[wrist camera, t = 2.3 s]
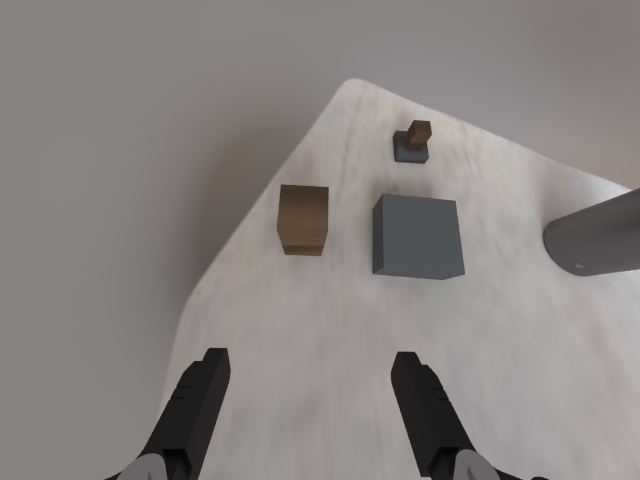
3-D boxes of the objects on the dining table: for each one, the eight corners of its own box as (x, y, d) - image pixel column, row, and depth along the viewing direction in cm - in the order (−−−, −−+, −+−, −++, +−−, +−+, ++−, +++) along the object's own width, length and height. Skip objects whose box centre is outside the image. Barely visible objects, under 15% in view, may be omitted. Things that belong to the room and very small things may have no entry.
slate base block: (441, 280, 32) (464, 274, 28) (372, 274, 32) (383, 267, 27) (435, 216, 35) (455, 200, 31) (372, 210, 35) (382, 193, 30)
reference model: (424, 163, 38) (441, 142, 33) (395, 161, 38) (408, 139, 33) (420, 139, 40) (436, 115, 35) (392, 137, 39) (404, 113, 35)
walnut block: (320, 256, 32) (327, 231, 22) (285, 254, 32) (276, 229, 22) (321, 223, 34) (328, 187, 24) (287, 221, 33) (281, 184, 24)
